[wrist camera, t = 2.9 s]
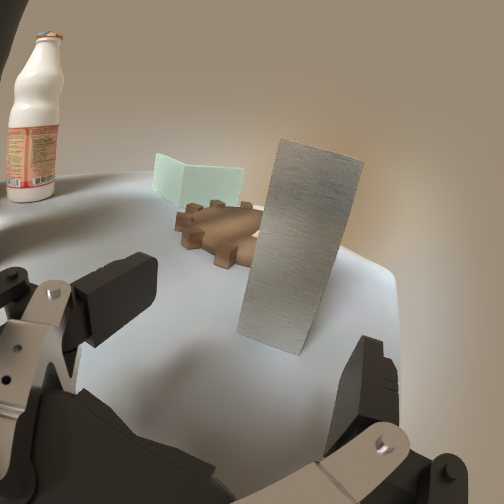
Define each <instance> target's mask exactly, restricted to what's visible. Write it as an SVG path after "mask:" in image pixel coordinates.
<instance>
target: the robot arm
mask: <svg viewBox="0 0 504 504" xmlns="http://www.w3.org/2000/svg"><path fill="white" fill-rule="evenodd" d="M28 1H29V0H0V80H1V75H2V71H3V68H4V66H5V64H6V61H7V59H8V56H9V53H10V50H11V47H12V43H13V40H14V37H15V34H16V31H17V28H18V25H19V22H20V20H21V17H22V15H23V12H24V10H25V7H26V5H27V3H28ZM157 270H158V262H157V259H156V258H154V257H152V256H149V255H147V254H144V253H142V252H137V253H135V254H133V255H131V256H129V257H127V258H125V259H121V260H117V261H113V262H111V263H109V264H107V265H105V266H104V267H101V268H99V269H97V270H96V272H95V271H94V272H92V273H90V274H88V275H86V276H84V277H82V278H80V279H78V280H76V281H75V282H73V283H71V284H68V283H67V282H64V281H61V280H50V281H46V282H44V283H42V284H40V285H39V286H38V285H35V284H32V283H29V279H28V273H27V271H26V270H25V269H24V268H21V267H11V268H7V269H5V270H3V271H1V272H0V309H1V308H2V307H4V308H5V312H6V315H7V318H8V321H7V322H6V323H5V324H3V325H2V326H0V504H358V503H360V504H468V472H467V468H466V466H465V464H464V462H463V461H462V460H461V459H460V458H459V457H457V456H456V455H453V454H450V453H444V454H441V455H439V456H437V457H436V458H435V459H434V460H433V461H432V460H430V459H428V458H426V457H424V456H422V455H420V454H418V453H416V452H414V451H412V450H411V449H410V443H409V439H408V437H407V435H406V434H405V432H404V431H403V430H402V429H401V428H399V395H398V384H397V383H398V375H397V369H396V367H395V365H394V363H393V362H392V360H391V359H389V358H386V357H384V353H383V342H382V341H380V340H377V339H374V338H370V337H367V336H364V335H363V336H362V337H361V338H360V340H359V342H358V343H357V345H356V347H355V349H354V351H353V353H352V355H351V357H350V359H349V361H348V362H347V364H346V366H345V368H344V370H343V372H342V375H341V378H340V381H339V386H338V391H337V397H336V402H335V407H334V412H333V417H332V421H331V426H330V430H329V435H328V439H327V443H326V447H325V451H324V455H323V457H326V458H325V459H324V460H322V461H320V462H317V461H315V462H312V463H310V464H308V465H306V466H305V467H303V468H301V469H299V470H298V471H296V472H294V473H292V474H291V475H289V476H287V477H285V478H283V479H281V480H279V481H278V482H276V483H274V484H272V485H270V486H268V487H266V488H264V489H262V490H260V491H257V492H255V493H253V494H251V495H249V496H247V497H244V498H242V499H240V500H237V499H236V498H235V496H234V495H233V494H232V492H231V491H230V490H229V489H228V488H227V487H226V486H225V485H224V484H223V483H222V482H221V481H219V480H218V479H217V478H215V477H214V476H213V475H214V471H215V468H216V467H215V466H213V465H211V464H208V463H206V462H204V461H202V460H200V459H198V458H196V457H194V456H191V455H189V454H187V453H185V452H183V451H182V450H180V449H177V448H174V447H170V446H167V445H164V444H160V443H157V442H154V441H151V440H148V439H145V438H142V437H139V436H137V435H136V434H134V433H133V432H132V431H131V430H130V429H129V428H128V427H127V425H126V424H125V423H124V422H123V421H122V420H121V419H120V418H119V417H118V416H117V415H116V413H115V412H114V411H113V410H112V409H111V408H110V407H109V406H107V405H106V404H105V403H103V402H102V401H100V400H99V399H98V398H96V397H95V396H94V395H92V394H91V393H90V392H88V391H87V390H86V389H85V388H84V389H82V390H81V391H80V392H79V393H78V394H77V395H76V391H75V386H76V379H77V373H78V367H79V361H80V356H81V350H82V348H81V343H83V342H84V341H85V342H87V343H88V344H90V345H91V346H92V347H94V348H96V347H97V346H99V345H100V344H101V343H102V342H104V341H105V340H106V339H108V338H109V337H110V336H112V335H113V334H114V333H115V332H117V331H118V330H119V329H121V328H122V327H123V326H124V325H126V324H127V323H128V322H130V321H131V320H132V319H134V318H135V317H136V316H138V315H139V314H140V313H141V312H143V311H144V310H145V309H147V308H148V307H149V306H150V305H151V304H152V303H153V301H154V299H155V296H156V290H157Z"/></svg>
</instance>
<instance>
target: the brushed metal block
mask: <svg viewBox="0 0 504 504" xmlns="http://www.w3.org/2000/svg"><path fill="white" fill-rule="evenodd" d="M363 165H364V161H363V160H360V159H357V158H353V157H350V156H347V155H344V154H340V153H337V152H333V151H330V150H326V149H323V148H319V147H315V146H311V145H307V144H303V143H299V142H295V141H290V140H284V139H280V140H279V145H278V149H277V153H276V158H275V162H274V167H273V172H272V176H271V180H270V185H269V189H268V194H267V198H266V203H265V207H264V211H263V216H262V220H261V225H260V229H259V234H258V238H257V242H256V247H255V251H254V256H253V260H252V265H251V269H250V273H249V278H248V282H247V287H246V291H245V295H244V300H243V304H242V309H241V313H240V317H239V322H238V326H237V331H236V332H237V333H240V334H242V335H245V336H247V337H250V338H252V339H255V340H257V341H260V342H263V343H265V344H268V345H270V346H273V347H276V348H279V349H281V350H284V351H287V352H289V353H292V354H295V355H298V356H299V354H300V352H301V349H302V347H303V344H304V342H305V339H306V337H307V334H308V332H309V329H310V327H311V324H312V322H313V319H314V316H315V314H316V311H317V309H318V306H319V303H320V301H321V298H322V295H323V292H324V290H325V287H326V284H327V281H328V279H329V276H330V273H331V270H332V267H333V264H334V261H335V258H336V255H337V252H338V249H339V246H340V243H341V240H342V237H343V234H344V231H345V227H346V224H347V221H348V218H349V214H350V211H351V208H352V204H353V201H354V198H355V194H356V191H357V187H358V183H359V179H360V176H361V172H362V169H363Z"/></svg>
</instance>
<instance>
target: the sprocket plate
mask: <svg viewBox="0 0 504 504" xmlns="http://www.w3.org/2000/svg"><path fill="white" fill-rule="evenodd" d="M225 205H226V203H224V202H222V201H220V200H210V206H209V207H208V208H204V209H203V207H204V206H202V205H199V204H195V203H189V204H187V205H186V211H185V213H182V212H177V216H176V224H175V231H183V232H182V240H181V244H182V245H183V246H184V247H185V248H186V249H187V250H188V249H196V248H202V249H204V250H206V251H207V252H209V253H211V254H213V255H215V259H214V264H215V265H217V266H220V267H223V268H225V269H228V268H229V267H230V266H232V265H233V264H234V263H236V264H240V265H243V266H247V267H251V265H252V260H253V256H254V251H255V247H256V242H257V238H258V234H259V229H260V225H261V220H262V216H263V211H260V210H256V209H252V208H253V206H252V204H251V203H249V202H241V206H240V207H231V206H225Z"/></svg>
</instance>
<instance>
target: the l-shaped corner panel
mask: <svg viewBox="0 0 504 504" xmlns="http://www.w3.org/2000/svg"><path fill="white" fill-rule="evenodd" d="M244 172H245V169H243V168H232V167H216V166H197V165H187V164H184V163H182V162H180V161H177V160H175V159H173V158H170V157H168V156H165V155H163V154H156V161H155V168H154V176H153V185H152V189H153V190H154V191H155V192H157V193H158V194H160V195H161V196H162V197H164V198H165V199H167V200H168V201H169V202H171V203H172V204H173V205H175V206H176V207H178V208H186V205H187V204H189V203H195V204H199V205H202V206H204V207H209V206H210V200H220V201H222V202H224V203H226V205H225V206H238V201H239V196H240V191H241V186H242V182H243V177H244Z"/></svg>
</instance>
